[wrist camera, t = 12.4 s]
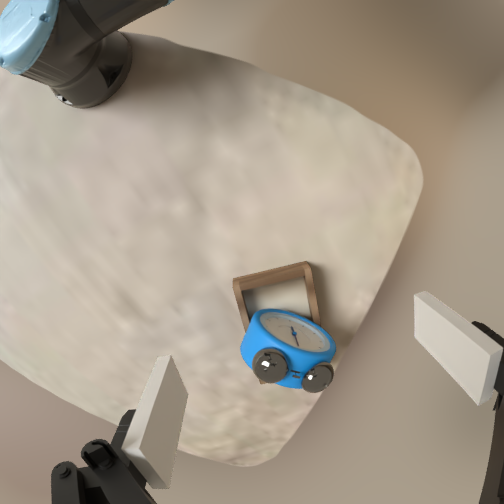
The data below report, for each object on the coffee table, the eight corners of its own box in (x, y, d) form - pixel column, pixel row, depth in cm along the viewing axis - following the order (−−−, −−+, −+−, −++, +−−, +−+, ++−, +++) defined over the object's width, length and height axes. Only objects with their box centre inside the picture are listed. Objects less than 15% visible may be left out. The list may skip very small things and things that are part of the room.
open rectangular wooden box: (233, 278, 50) (232, 286, 47) (305, 261, 50) (310, 267, 47) (259, 372, 55) (260, 384, 51) (322, 356, 55) (327, 368, 51)
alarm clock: (325, 321, 51) (352, 371, 36) (310, 350, 52) (330, 406, 38) (252, 298, 49) (256, 347, 35) (239, 330, 51) (238, 386, 36)
